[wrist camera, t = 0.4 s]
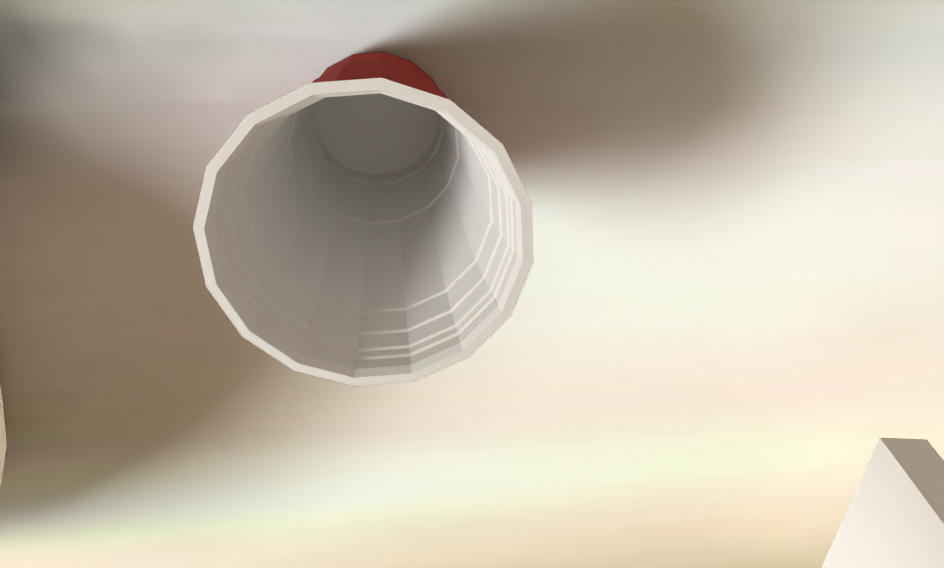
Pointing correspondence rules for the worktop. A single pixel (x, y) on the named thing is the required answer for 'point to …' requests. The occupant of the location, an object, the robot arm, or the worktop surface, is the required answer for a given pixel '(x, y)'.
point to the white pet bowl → (2, 437)
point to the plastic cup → (364, 226)
